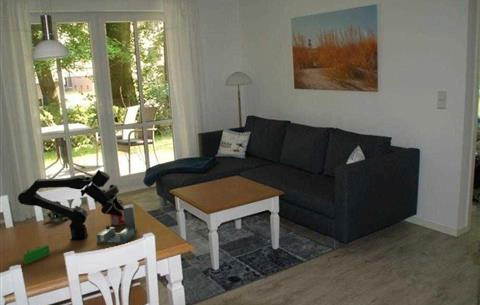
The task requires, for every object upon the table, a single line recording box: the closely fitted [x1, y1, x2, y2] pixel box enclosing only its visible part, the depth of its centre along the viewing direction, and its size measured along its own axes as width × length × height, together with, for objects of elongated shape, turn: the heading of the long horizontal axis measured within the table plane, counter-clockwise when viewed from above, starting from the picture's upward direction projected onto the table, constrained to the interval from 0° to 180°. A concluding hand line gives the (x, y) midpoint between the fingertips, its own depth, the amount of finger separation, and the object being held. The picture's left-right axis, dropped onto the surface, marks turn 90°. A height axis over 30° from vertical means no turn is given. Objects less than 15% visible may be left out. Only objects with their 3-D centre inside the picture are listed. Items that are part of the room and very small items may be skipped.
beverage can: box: [109, 199, 126, 226], centre depth 224 cm, size 8×8×12 cm
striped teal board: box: [96, 224, 136, 245], centre depth 203 cm, size 14×11×6 cm
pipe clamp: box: [22, 244, 51, 265], centre depth 186 cm, size 11×4×5 cm, turn 145°
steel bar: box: [123, 203, 137, 233], centre depth 211 cm, size 4×5×13 cm
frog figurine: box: [44, 200, 69, 223], centre depth 236 cm, size 18×18×12 cm
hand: (122, 212), depth 210 cm, fingers open, 9 cm apart
